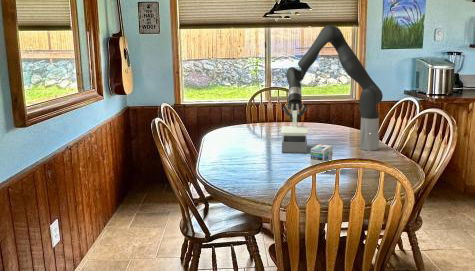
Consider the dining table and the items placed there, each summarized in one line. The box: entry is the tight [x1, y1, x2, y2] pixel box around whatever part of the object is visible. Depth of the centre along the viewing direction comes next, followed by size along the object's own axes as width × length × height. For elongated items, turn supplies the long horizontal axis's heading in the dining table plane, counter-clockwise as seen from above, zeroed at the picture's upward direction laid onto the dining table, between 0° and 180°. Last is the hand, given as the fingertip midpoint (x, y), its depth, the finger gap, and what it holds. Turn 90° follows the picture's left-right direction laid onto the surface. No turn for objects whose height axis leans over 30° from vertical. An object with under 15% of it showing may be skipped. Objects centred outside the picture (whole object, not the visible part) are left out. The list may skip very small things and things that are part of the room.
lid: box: [280, 111, 309, 136], centre depth 233 cm, size 19×14×11 cm
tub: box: [281, 134, 308, 155], centre depth 235 cm, size 18×13×6 cm
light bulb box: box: [309, 143, 333, 174], centre depth 195 cm, size 11×7×11 cm, turn 148°
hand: (294, 121), depth 238 cm, fingers closed on lid, 2 cm apart
